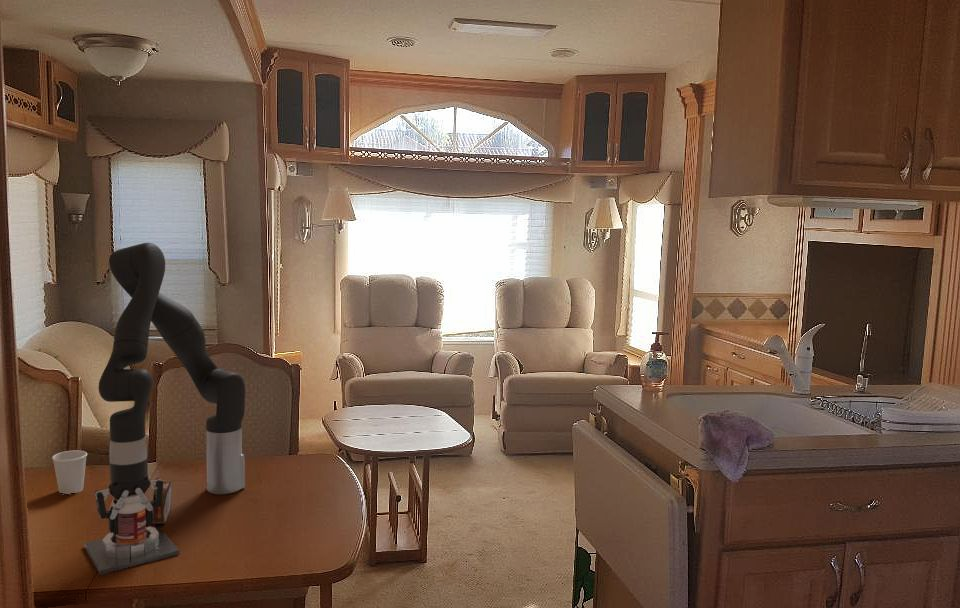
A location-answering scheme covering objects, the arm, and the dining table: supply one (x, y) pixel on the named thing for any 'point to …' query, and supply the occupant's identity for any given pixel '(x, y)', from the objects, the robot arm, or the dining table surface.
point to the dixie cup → (70, 470)
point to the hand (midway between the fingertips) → (131, 529)
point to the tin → (163, 504)
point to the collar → (130, 551)
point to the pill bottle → (131, 521)
